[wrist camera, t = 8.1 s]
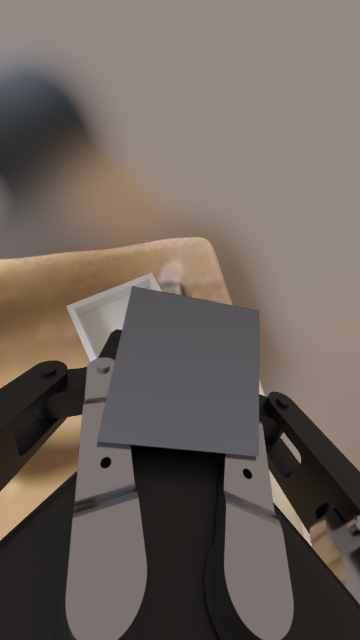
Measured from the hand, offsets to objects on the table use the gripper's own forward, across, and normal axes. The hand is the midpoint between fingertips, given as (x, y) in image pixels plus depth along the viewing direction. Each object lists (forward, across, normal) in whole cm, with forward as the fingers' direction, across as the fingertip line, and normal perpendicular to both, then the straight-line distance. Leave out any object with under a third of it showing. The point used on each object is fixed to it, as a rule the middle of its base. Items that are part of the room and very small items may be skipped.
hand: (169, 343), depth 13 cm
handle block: (+2, 0, +5) cm, 6 cm away
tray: (+15, +4, +10) cm, 19 cm away
